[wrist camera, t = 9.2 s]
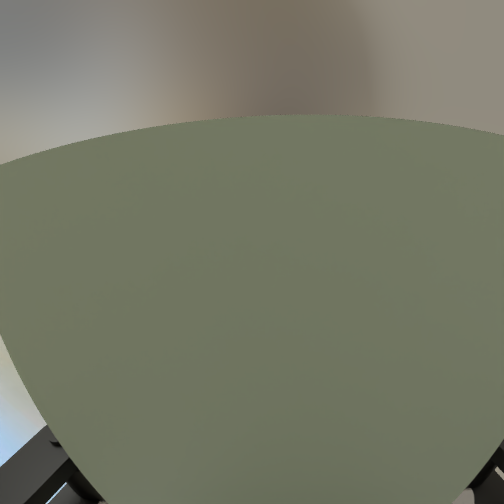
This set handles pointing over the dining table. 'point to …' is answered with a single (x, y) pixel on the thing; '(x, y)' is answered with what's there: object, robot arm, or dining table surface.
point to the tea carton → (263, 307)
